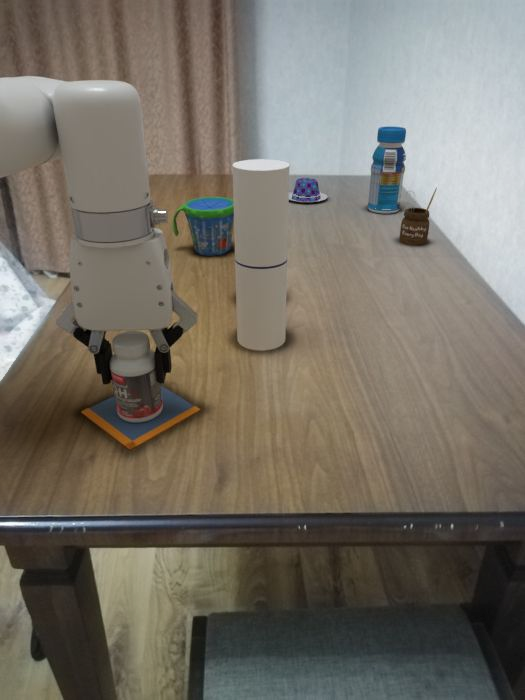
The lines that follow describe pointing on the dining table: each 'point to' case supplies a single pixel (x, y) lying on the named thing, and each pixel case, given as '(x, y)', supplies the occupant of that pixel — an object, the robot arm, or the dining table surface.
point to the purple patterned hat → (306, 191)
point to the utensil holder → (415, 225)
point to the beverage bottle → (387, 170)
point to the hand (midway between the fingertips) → (135, 376)
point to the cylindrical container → (261, 251)
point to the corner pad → (142, 431)
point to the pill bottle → (135, 378)
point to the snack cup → (209, 224)
